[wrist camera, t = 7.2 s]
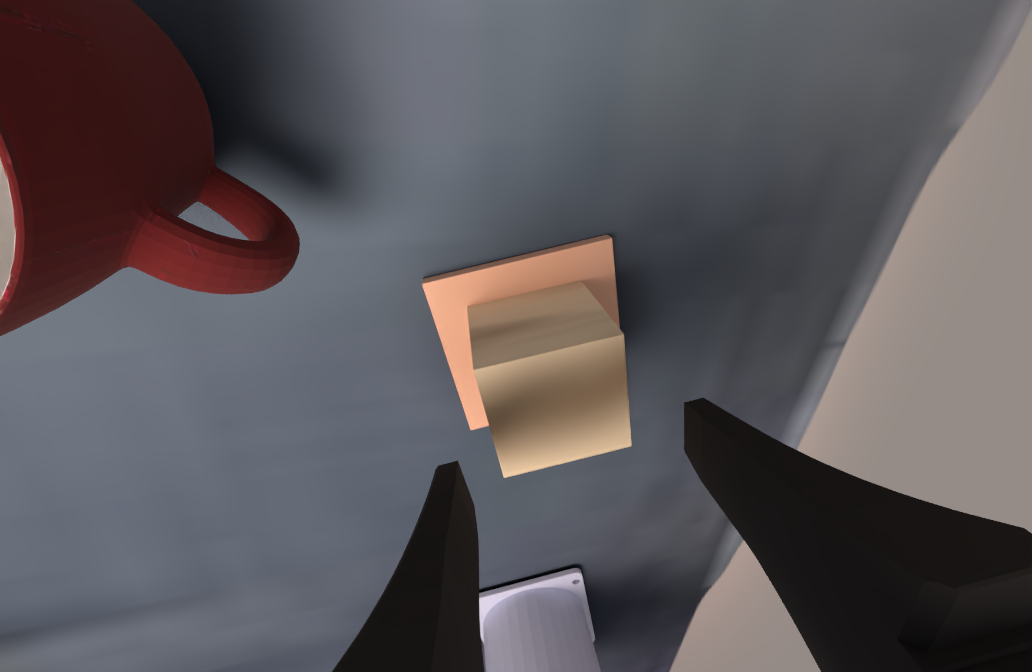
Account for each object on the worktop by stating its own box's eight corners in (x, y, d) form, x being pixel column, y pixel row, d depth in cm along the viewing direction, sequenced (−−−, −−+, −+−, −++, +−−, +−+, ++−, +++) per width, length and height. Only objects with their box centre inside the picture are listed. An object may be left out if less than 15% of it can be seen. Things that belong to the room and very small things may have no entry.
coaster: (620, 384, 22) (625, 390, 21) (470, 422, 21) (470, 430, 21) (607, 234, 18) (611, 238, 17) (422, 278, 18) (422, 283, 17)
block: (591, 374, 20) (631, 446, 16) (491, 398, 20) (504, 477, 16) (580, 280, 18) (624, 334, 14) (466, 306, 18) (473, 370, 13)
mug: (383, 99, 14) (286, 83, 6) (306, 295, 17) (161, 484, 8) (-15, -140, 11) (-2017, -1228, 2) (-31, 157, 14) (-902, 242, 5)
